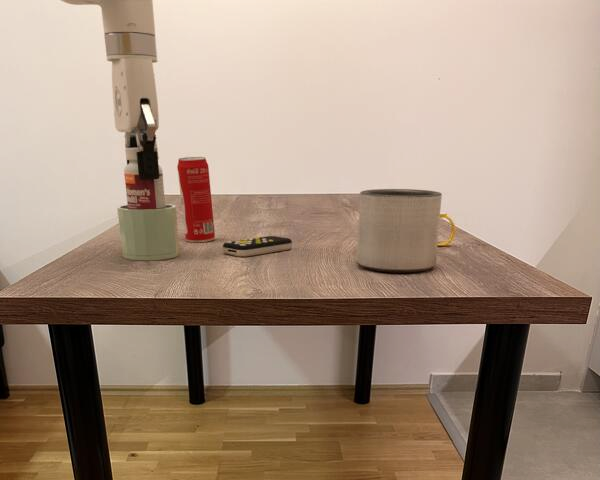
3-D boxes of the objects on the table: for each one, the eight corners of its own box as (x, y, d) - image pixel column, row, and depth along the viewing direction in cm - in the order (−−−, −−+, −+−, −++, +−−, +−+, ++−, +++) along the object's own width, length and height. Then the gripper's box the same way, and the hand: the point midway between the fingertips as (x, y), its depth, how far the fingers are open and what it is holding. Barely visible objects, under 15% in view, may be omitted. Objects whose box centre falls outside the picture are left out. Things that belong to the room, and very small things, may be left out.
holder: (138, 262, 104) (133, 211, 100) (113, 254, 110) (107, 205, 107) (189, 256, 109) (185, 207, 106) (162, 249, 116) (158, 202, 112)
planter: (411, 257, 109) (416, 187, 104) (450, 271, 98) (459, 194, 93) (343, 262, 105) (346, 189, 100) (377, 277, 94) (382, 197, 89)
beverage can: (219, 238, 127) (215, 156, 120) (206, 244, 121) (201, 158, 114) (191, 237, 128) (186, 156, 122) (177, 242, 122) (171, 157, 116)
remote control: (295, 249, 116) (295, 237, 115) (242, 258, 108) (242, 245, 107) (272, 245, 120) (272, 234, 119) (219, 253, 112) (218, 241, 111)
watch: (451, 245, 121) (455, 212, 118) (454, 247, 118) (457, 213, 116) (420, 244, 121) (422, 211, 119) (421, 247, 119) (424, 213, 116)
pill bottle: (123, 223, 105) (114, 148, 100) (138, 218, 111) (131, 147, 106) (158, 224, 104) (151, 148, 99) (172, 219, 109) (166, 147, 104)
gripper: (94, 54, 102) (109, 175, 110) (119, 42, 88) (134, 182, 96) (141, 56, 105) (151, 174, 113) (172, 45, 91) (182, 180, 99)
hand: (143, 176), depth 104 cm, fingers closed on pill bottle, 6 cm apart
